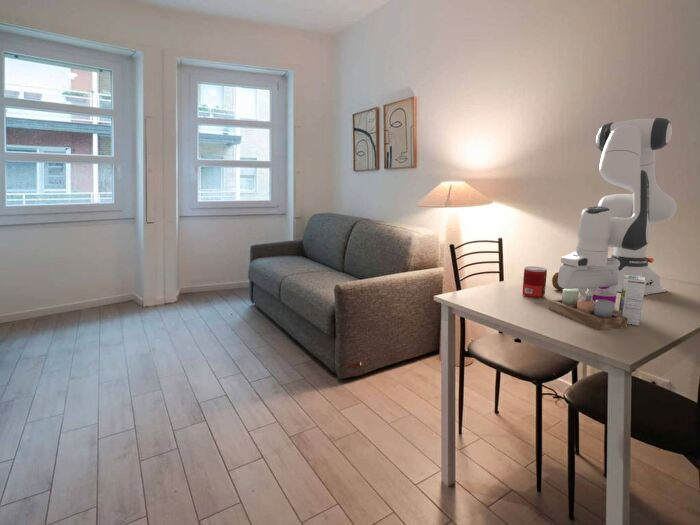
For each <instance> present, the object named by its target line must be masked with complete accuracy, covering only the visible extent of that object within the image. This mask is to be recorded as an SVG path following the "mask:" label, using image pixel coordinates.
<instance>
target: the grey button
mask: <svg viewBox="0 0 700 525" xmlns="http://www.w3.org/2000/svg"><path fill="white" fill-rule="evenodd" d="M613 306H614V302H612V301H609V300H602V299H598V300H595V309H594V316H597V317H600V318H602V319H605V318H612V314H613V313H614V309H613Z"/></svg>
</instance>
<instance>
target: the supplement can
mask: <svg viewBox="0 0 700 525" xmlns="http://www.w3.org/2000/svg"><path fill="white" fill-rule="evenodd" d="M617 287H618V284H617V285H616V286H609V287H597V291H596V292H595V293H594V295H593V297H592V300H594V301H595V300H598V299H602V300H609V301H612V302H614V306H613V310H615V309H616V300H617V294H618V293H617V292H618V291H617ZM594 306H595V305H594Z"/></svg>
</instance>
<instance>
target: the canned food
mask: <svg viewBox="0 0 700 525" xmlns="http://www.w3.org/2000/svg"><path fill="white" fill-rule="evenodd" d="M547 272H548V269H547V268H546V267H542V266H532V265H531V266H530V265H529V266H524V268H523V278H522V279H523V282H522V295H523V296H524V297H526V298H530V297H531V298H532V299H542V298H543V299H544V297H545V294H546V287H547V286H546V285H547V275H548V273H547Z"/></svg>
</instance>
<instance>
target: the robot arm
mask: <svg viewBox="0 0 700 525" xmlns="http://www.w3.org/2000/svg"><path fill="white" fill-rule="evenodd" d="M672 136H673V127H672V124H671V121H670V120H669V119H668V118H666V117H665V118H664V117H655V118H634V119H629V120H621V121H617V122H613V121H612V122H607V123H605V124H603V125H602V126H601V127H599V129H598V131H597V134H596V138H595V143H596V147H597V148H598V150H599V151H601V152H602V153H601V157H600V160H599V161H600V162H599V166H598V171H599V174H600V176H601V178H603V180H604V181H605V182H608V183H609V184H610V185H614V186H617V187H619V188H622V189H625V190H627V191H629V192H631V193H614V194H609V195H604V196H603V197H602V198H601V199H600V200H599V201H598V204H597V206H589V207H586V208H583V210H582V212H581V214H580V219H579V222H578V228H577V229H578V230H577V238H578V239H577V240H578V242H577V245H576V246H575V251H573V252H571V253H568V254H566V255H563V256H562V257H561V258H560V262H561V265H560V267H559V270H558V272H559V274H558V285H559V286H560V287H561V288H565V289H575V290H576V289H577V290H578V291H579V294H580V299H581V300H582V301H592V297H593V295H594V293H595V292H596V291H597V287H609V286H616V285H617V284H618V287H617V292H618V293H621V291H622V286H623V280H624V276H625V275H633V276H640V277H645V278H646V284H645V291H644V296H647V295H653V294H659V293H665V292H667V290H668V289H667V288H665V287H663V286H660V285H661V278H660V276H659V274H658V273H656V271H655V270H653V269H652V268H650V266H649V263H651V264H652V263H654V261H655V259H654V257H649V256H648V257H647V256H646V255H647V248H648V244H649V242H650V240H651V236H652V230H651V224H652V223H662V222H668V221H669V220H671V219H672V218H674V215H675V214H676V212H677V203H676V201H675V199H674V198H673V197H672V196H671V195H669V194H667V193H666V192H664V191H663V190H662V189H661V187H660V186H659V185H658V183H657V180H656V151H657V150H661V149H663V148H664V147H666V146H667V145H669V142H670V140H671V138H672ZM650 223H651V224H650ZM609 248H613V251H612V254H611V257H608V256H609Z"/></svg>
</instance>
